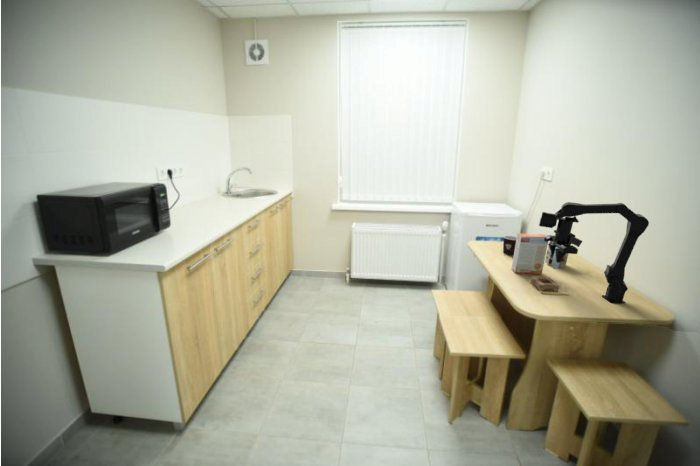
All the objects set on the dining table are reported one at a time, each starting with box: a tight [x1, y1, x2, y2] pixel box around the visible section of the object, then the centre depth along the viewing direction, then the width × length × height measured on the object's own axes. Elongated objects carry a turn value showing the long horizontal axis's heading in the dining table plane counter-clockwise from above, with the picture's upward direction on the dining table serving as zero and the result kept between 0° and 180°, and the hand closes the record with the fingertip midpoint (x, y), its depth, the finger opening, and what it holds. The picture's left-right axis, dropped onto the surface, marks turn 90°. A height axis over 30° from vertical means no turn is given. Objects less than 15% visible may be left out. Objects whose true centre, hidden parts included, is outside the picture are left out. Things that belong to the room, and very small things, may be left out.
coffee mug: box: [502, 235, 517, 256], centre depth 206 cm, size 12×9×10 cm
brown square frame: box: [529, 276, 560, 292], centre depth 162 cm, size 9×9×4 cm
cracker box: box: [511, 233, 549, 275], centre depth 177 cm, size 14×6×21 cm, turn 86°
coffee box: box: [544, 241, 569, 268], centre depth 190 cm, size 9×6×16 cm
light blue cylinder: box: [550, 246, 560, 269], centre depth 159 cm, size 3×3×10 cm
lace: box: [538, 290, 570, 296], centre depth 158 cm, size 4×12×1 cm, turn 87°
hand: (556, 261), depth 159 cm, fingers closed on light blue cylinder, 3 cm apart
